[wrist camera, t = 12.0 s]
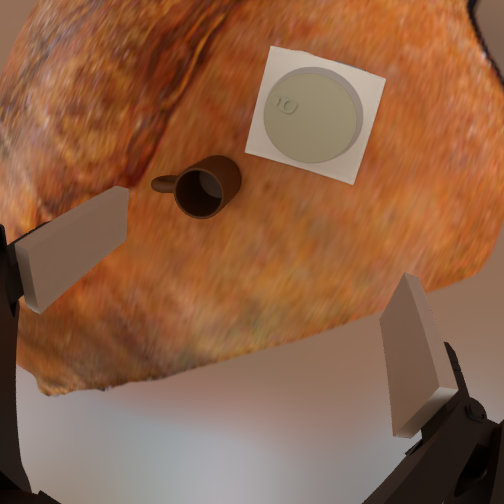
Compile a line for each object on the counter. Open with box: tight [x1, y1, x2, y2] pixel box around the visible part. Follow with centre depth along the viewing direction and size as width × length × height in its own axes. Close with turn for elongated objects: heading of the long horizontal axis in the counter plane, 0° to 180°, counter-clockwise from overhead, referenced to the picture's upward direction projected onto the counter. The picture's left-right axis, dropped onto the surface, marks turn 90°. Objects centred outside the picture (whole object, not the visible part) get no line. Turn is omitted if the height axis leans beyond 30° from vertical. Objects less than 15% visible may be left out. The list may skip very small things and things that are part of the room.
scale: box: [245, 46, 386, 185], centre depth 41 cm, size 16×16×5 cm
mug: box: [151, 156, 241, 219], centre depth 47 cm, size 12×8×9 cm, turn 83°
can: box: [264, 73, 357, 163], centre depth 34 cm, size 9×9×12 cm
